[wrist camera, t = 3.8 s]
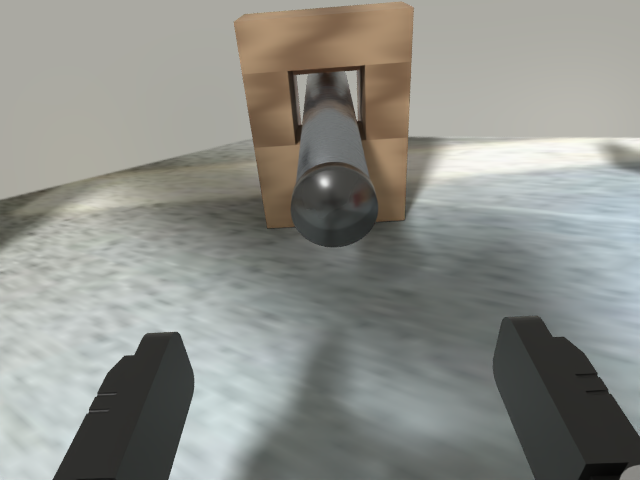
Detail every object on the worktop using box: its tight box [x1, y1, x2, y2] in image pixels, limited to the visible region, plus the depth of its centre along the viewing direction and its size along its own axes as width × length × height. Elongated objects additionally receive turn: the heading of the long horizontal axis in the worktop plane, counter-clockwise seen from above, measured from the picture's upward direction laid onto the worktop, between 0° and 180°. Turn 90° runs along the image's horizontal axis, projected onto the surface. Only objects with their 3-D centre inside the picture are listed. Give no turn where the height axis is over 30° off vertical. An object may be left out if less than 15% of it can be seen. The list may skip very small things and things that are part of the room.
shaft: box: [291, 71, 378, 247], centre depth 25 cm, size 21×3×3 cm, turn 0°
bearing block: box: [234, 2, 414, 228], centre depth 29 cm, size 10×4×14 cm, turn 90°
